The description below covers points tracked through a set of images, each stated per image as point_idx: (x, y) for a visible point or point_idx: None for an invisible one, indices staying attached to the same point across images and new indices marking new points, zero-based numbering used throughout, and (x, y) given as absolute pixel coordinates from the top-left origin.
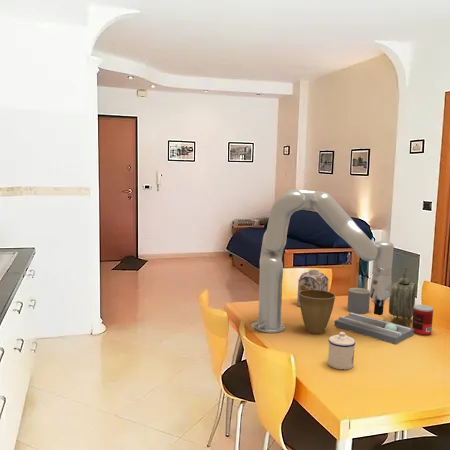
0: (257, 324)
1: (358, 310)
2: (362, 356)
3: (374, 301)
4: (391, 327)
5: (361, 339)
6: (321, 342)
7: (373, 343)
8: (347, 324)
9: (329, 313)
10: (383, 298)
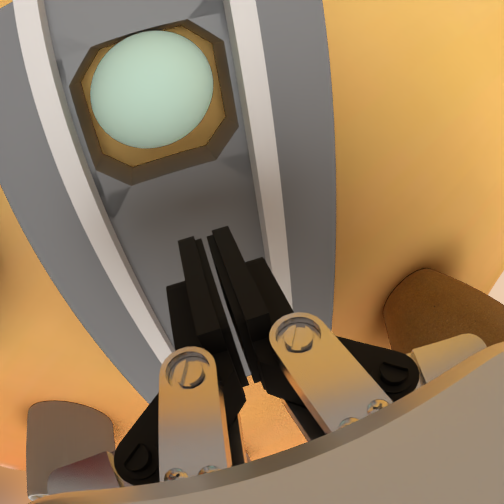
0: None
1: (88, 420)
2: (499, 29)
3: (482, 344)
4: (190, 51)
5: (383, 133)
6: (480, 201)
7: (385, 53)
8: (333, 292)
9: (482, 314)
10: (456, 411)
